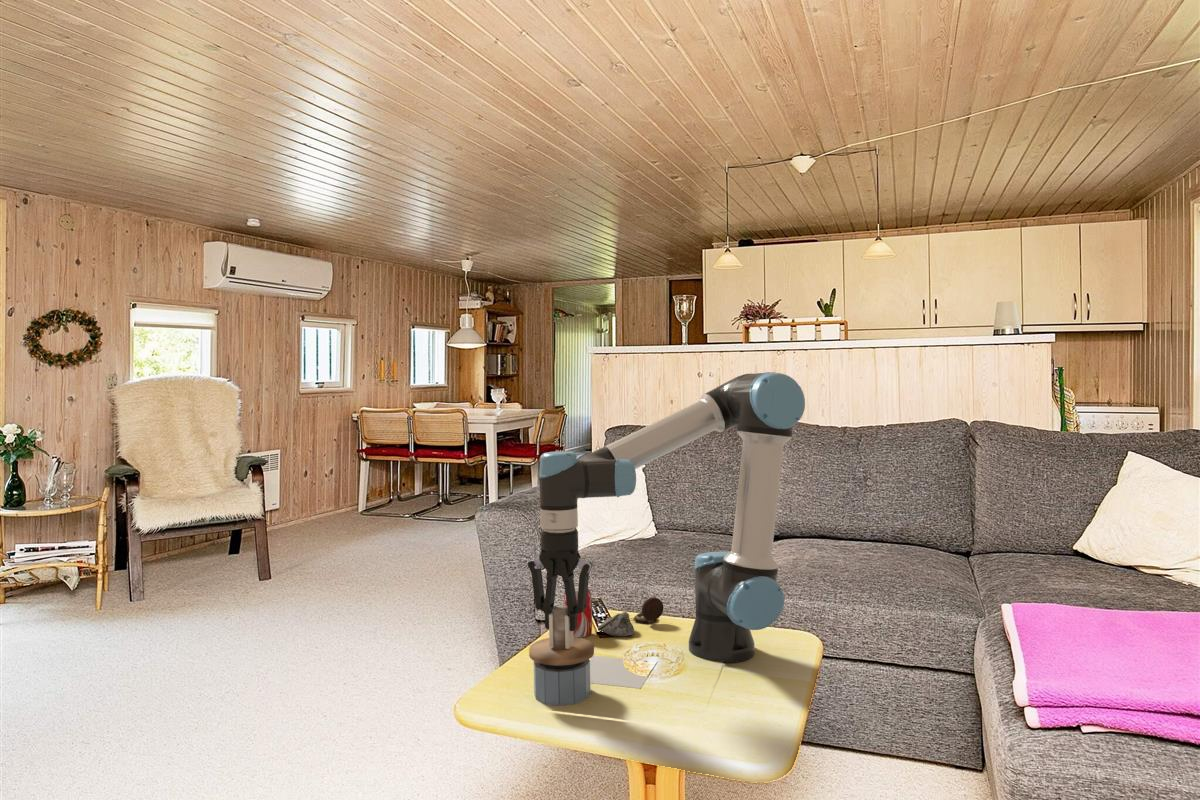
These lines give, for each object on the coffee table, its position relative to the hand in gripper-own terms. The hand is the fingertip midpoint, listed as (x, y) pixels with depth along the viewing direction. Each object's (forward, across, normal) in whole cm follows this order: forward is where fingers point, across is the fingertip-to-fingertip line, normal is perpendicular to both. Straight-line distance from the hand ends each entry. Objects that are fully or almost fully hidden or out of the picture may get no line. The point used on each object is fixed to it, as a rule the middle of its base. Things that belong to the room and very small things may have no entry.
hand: (561, 645), depth 148 cm
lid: (+2, 0, 0) cm, 2 cm away
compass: (+11, +4, +50) cm, 51 cm away
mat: (+10, +7, +14) cm, 19 cm away
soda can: (+10, -9, +35) cm, 38 cm away
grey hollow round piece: (+10, 0, 0) cm, 10 cm away
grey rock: (+11, 0, +40) cm, 41 cm away
